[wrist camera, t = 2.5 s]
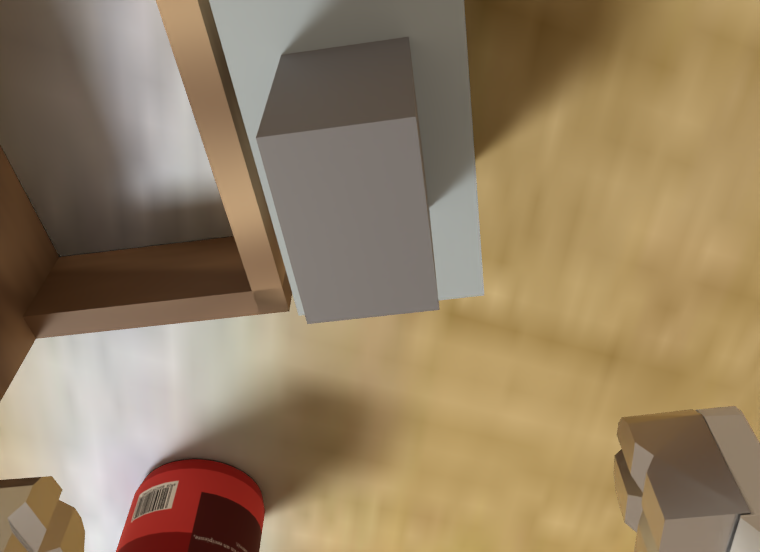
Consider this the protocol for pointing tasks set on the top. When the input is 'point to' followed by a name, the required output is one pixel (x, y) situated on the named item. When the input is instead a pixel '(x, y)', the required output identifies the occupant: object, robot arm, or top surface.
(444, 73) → the cabinet block
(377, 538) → the top surface
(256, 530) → the canned food
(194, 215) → the top surface
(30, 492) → the robot arm
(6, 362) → the brown wooden frame
